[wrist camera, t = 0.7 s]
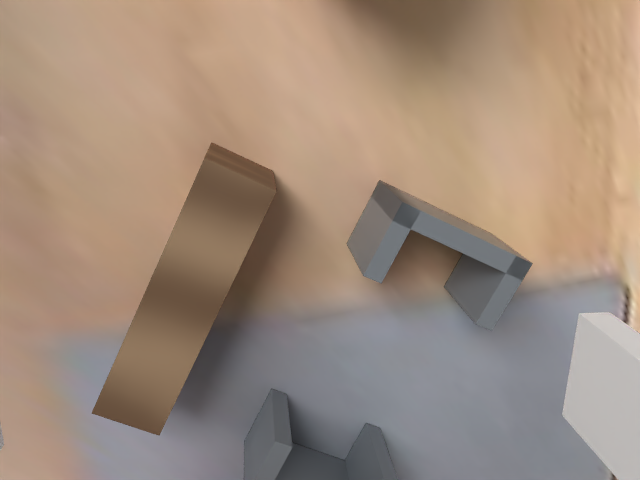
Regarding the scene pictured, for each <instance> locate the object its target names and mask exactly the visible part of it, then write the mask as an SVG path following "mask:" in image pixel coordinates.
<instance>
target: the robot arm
mask: <svg viewBox="0 0 640 480" xmlns="http://www.w3.org/2000/svg"><path fill="white" fill-rule="evenodd" d="M562 416H563V417H564V418H565V419H566V420H567V421H568V422H569V424H570V425H571V426H572V427H573V428H574V429H575V431H576V432H577V433H578V434H579V435H580V436H581V437H582V439H583V440H584V441H585V442H586V443H587V444H588V445H589V447H590V448H591V449H592V450H593V451H594V452H595V454H596V455H597V456H598V457H599V458H600V459H601V460H602V462H603V463H604V464H605V465H606V466H607V467H608V468H609V470H610V471H611V472H612V473H613V474H614V475H615V477H616V478H617V479H618V480H640V333H638V332H637V331H635V330H634V329H633V328H631V327H630V326H628V325H627V324H625V323H624V322H623V321H621V320H620V319H618V318H617V317H616V316H614V315H613V314H611V313H610V312H604V313H579V316H578V322H577V328H576V334H575V340H574V346H573V353H572V359H571V365H570V371H569V377H568V383H567V389H566V395H565V401H564V407H563V413H562ZM3 445H4V441H3V436H2V430H1V424H0V450H1V449H2V447H3Z"/></svg>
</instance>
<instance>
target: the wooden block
mask: <svg viewBox="0 0 640 480" xmlns="http://www.w3.org/2000/svg"><path fill="white" fill-rule="evenodd" d="M276 192H277V189H276V184H275V179H274V174H273V171H272V170H270V169H268V168H265V167H263V166H261V165H259V164H257V163H255V162H252V161H250V160H248V159H246V158H244V157H242V156H240V155H237V154H235V153H233V152H231V151H229V150H227V149H224V148H222V147H220V146H218V145H216V144H214V143H211V145H210V147H209V149H208V152H207V154H206V156H205V158H204V160H203V163H202V165H201V167H200V169H199V172H198V174H197V176H196V179H195V181H194V183H193V185H192V188H191V190H190V192H189V194H188V197H187V199H186V201H185V203H184V206H183V208H182V210H181V212H180V215H179V217H178V219H177V221H176V224H175V226H174V228H173V230H172V233H171V235H170V237H169V240H168V242H167V244H166V246H165V249H164V251H163V253H162V255H161V258H160V260H159V262H158V264H157V267H156V269H155V271H154V273H153V276H152V278H151V280H150V282H149V285H148V287H147V289H146V291H145V294H144V296H143V298H142V300H141V303H140V305H139V307H138V310H137V312H136V314H135V316H134V319H133V321H132V323H131V325H130V328H129V330H128V332H127V334H126V337H125V339H124V341H123V343H122V346H121V348H120V350H119V352H118V355H117V357H116V359H115V361H114V364H113V366H112V368H111V371H110V373H109V375H108V377H107V380H106V382H105V384H104V386H103V389H102V391H101V393H100V395H99V398H98V400H97V402H96V404H95V407H94V409H93V411H92V414H95V415H98V416H101V417H104V418H107V419H110V420H113V421H116V422H119V423H123V424H126V425H129V426H132V427H135V428H138V429H141V430H144V431H147V432H150V433H153V434H156V435H160V433H161V431H162V429H163V427H164V425H165V423H166V420H167V418H168V416H169V414H170V412H171V410H172V408H173V406H174V404H175V402H176V400H177V398H178V396H179V393H180V391H181V389H182V387H183V385H184V383H185V381H186V379H187V377H188V375H189V373H190V371H191V368H192V366H193V364H194V362H195V360H196V358H197V356H198V354H199V352H200V350H201V348H202V346H203V343H204V341H205V339H206V337H207V335H208V333H209V331H210V329H211V327H212V325H213V323H214V321H215V319H216V316H217V314H218V312H219V310H220V308H221V306H222V304H223V302H224V300H225V298H226V296H227V294H228V291H229V289H230V287H231V285H232V283H233V281H234V279H235V277H236V275H237V273H238V271H239V269H240V266H241V264H242V262H243V260H244V258H245V256H246V254H247V252H248V250H249V248H250V246H251V244H252V242H253V239H254V237H255V235H256V233H257V231H258V229H259V227H260V225H261V223H262V221H263V219H264V217H265V214H266V212H267V210H268V208H269V206H270V204H271V202H272V200H273V198H274V196H275V194H276Z"/></svg>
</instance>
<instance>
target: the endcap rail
mask: <svg viewBox="0 0 640 480" xmlns="http://www.w3.org/2000/svg"><path fill="white" fill-rule="evenodd" d="M410 230H413V231H416V232H418V233H420V234H422V235H424V236H426V237H429V238H431V239H433V240H435V241H437V242H439V243H442V244H444V245H446V246H448V247H450V248H452V249H454V250H457V251H459V252H461V253H463V254H462V256H461V258H460V260H459V261H458V263H457V265H456V267H455V268H454V270H453V272H452V274H451V275H450V277H449V279H448V281H447V282H446V284H445V286H444V287H445V289H446V290H447V291H448V292H449V293H450V295H451V296H452V297H453V298H454V299H455V300H456V302H457V303H458V304H459V305H460V306H461V308H462V309H463V310H464V311H465V312H466V313H467V315H468V316H469V317H470V318H471V319H472V321H473V322H474V323H475V324H476V325H479V326H481V327H483V328H486V329H488V330H490V331H492V330H493V328H494V327H495V325H496V323H497V322H498V320H499V318H500V317H501V315H502V313H503V312H504V310H505V308H506V307H507V305H508V303H509V302H510V300H511V299H512V297H513V295H514V294H515V292H516V290H517V289H518V287H519V285H520V284H521V282H522V280H523V279H524V277H525V275H526V274H527V272H528V270H529V269H530V267H531V266H532V264H533V263H531V262H530V261H529V260H527V259H526V258H524V257H523V256H522V255H520V254H519V253H518V252H516V251H515V250H514V249H512V248H511V247H509V246H508V245H507V244H505V243H504V242H503V241H501V240H500V239H498V238H497V237H496V236H494V235H493V234H491V233H489V232H487V231H485V230H483V229H481V228H479V227H477V226H474V225H472V224H470V223H468V222H466V221H464V220H462V219H460V218H458V217H456V216H454V215H451V214H449V213H447V212H445V211H443V210H441V209H439V208H437V207H435V206H433V205H431V204H428V203H426V202H424V201H422V200H420V199H418V198H416V197H414V196H412V195H410V194H408V193H405V192H403V191H401V190H399V189H397V188H395V187H393V186H391V185H389V184H387V183H385V182H382V181H380V180H379V182H378V184H377V186H376V188H375V190H374V192H373V194H372V196H371V198H370V200H369V201H368V203H367V205H366V207H365V209H364V211H363V213H362V215H361V217H360V219H359V221H358V223H357V225H356V227H355V228H354V230H353V232H352V234H351V236H350V238H349V240H348V242H347V246H348V247H349V249H350V251H351V253H352V255H353V257H354V259H355V261H356V263H357V265H358V267H359V269H360V271H361V273H362V274H363V276H365V277H367V278H370V279H372V280H374V281H376V282H379V283H382V281H383V279H384V278H385V276H386V274H387V272H388V270H389V268H390V267H391V265H392V263H393V261H394V259H395V257H396V255H397V254H398V252H399V250H400V248H401V246H402V244H403V243H404V241H405V239H406V237H407V235H408V233H409V232H410ZM244 480H398V478H397V475H396V472H395V469H394V466H393V464H392V461H391V458H390V455H389V452H388V449H387V447H386V444H385V441H384V438H383V435H382V432H381V429H380V428H379V427H376V426H373V425H370V424H368V423H366V424H365V426H364V428H363V429H362V431H361V433H360V435H359V436H358V438H357V440H356V442H355V443H354V445H353V447H352V449H351V450H350V452H349V454H348V456H347V457H346V459H345V461H344V460H341V459H339V458H336V457H333V456H330V455H327V454H324V453H321V452H318V451H315V450H312V449H309V448H306V447H303V446H301V445H298V444H295V443H292V438H291V429H290V420H289V411H288V402H287V394H285V393H282V392H280V391H277V390H274V389H271V391H270V393H269V395H268V397H267V398H266V400H265V402H264V404H263V406H262V408H261V410H260V412H259V414H258V416H257V418H256V420H255V422H254V424H253V426H252V427H251V429H250V431H249V433H248V435H247V437H246V439H245V441H244Z"/></svg>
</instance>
